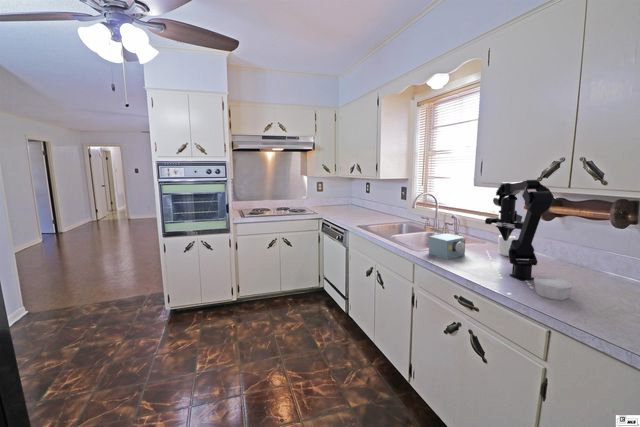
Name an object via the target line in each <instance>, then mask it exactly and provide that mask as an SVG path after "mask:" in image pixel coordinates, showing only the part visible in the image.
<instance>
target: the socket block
mask: <svg viewBox="0 0 640 427" xmlns="http://www.w3.org/2000/svg"><path fill="white" fill-rule="evenodd" d="M466 239H467V238H466V236H462V235H461V236H460V235H456V234H453V233H448V232H447V233H441V234H434V235H430V236H429V237H428V254H429V255H431V256H435V257H439V258H440V259H444V260H450V259H454V258H458V257H462V256H463V257H464V256H465V255H466V254H465V253H466V249H465V250H464V252H463V253H457V252H456V250H453V242H456V243H458V242H463V243H464V244H465V245H466Z"/></svg>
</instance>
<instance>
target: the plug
mask: <svg viewBox="0 0 640 427" xmlns="http://www.w3.org/2000/svg"><path fill="white" fill-rule="evenodd" d="M453 250H456V252H457V253H463V252H464V250H465V251H466V243H465V244H464V243H463V242H458V243H456V242H453Z"/></svg>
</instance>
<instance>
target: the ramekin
mask: <svg viewBox="0 0 640 427" xmlns="http://www.w3.org/2000/svg"><path fill="white" fill-rule="evenodd" d="M533 278H534V279H533V281H534V290H535V292H536V293H537V294H538V296H541V297H543V298H546V299H550V300H556V301H564V300H567V299H568V298H569V297H570V293H571V290H572V289H573V284H572V283H571V282H569V281H567V280H565V279H564V280H563V279H561V278H556V277H550V276H536V277H533Z"/></svg>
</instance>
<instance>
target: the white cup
mask: <svg viewBox="0 0 640 427" xmlns="http://www.w3.org/2000/svg"><path fill="white" fill-rule="evenodd" d="M512 240H517V237H516V236H514V235H511V234H510V236H509V238H508V240H507V241H504V239H503V237H502V235H501V234H499V235H498V242H497V244H498V246H497V247H498V255H501V256H503V257H505V256H506V257H509V249H510V246H511V243H512Z"/></svg>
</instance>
